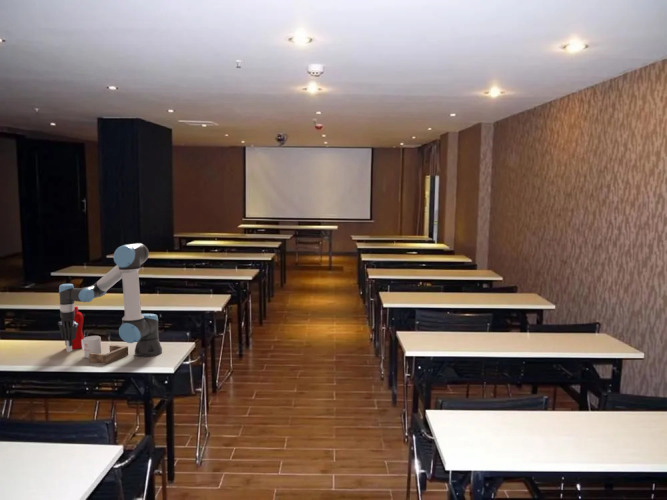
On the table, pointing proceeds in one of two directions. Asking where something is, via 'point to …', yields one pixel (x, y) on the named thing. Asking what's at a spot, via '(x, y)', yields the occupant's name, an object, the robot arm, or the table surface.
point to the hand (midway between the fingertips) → (69, 351)
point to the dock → (109, 355)
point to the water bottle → (78, 330)
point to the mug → (91, 345)
